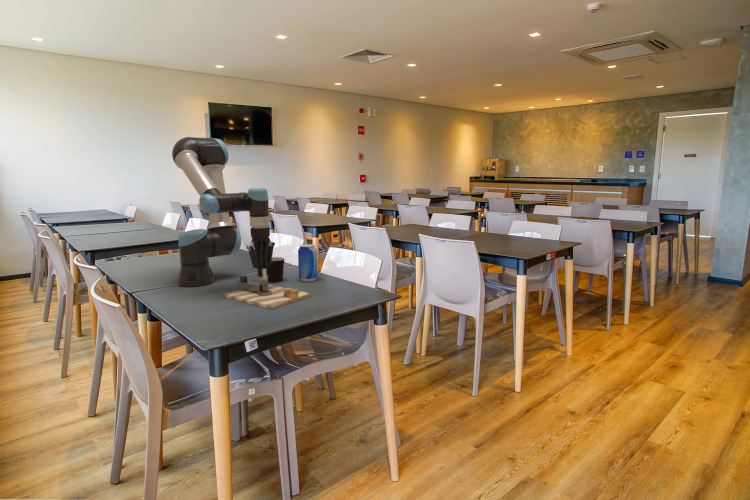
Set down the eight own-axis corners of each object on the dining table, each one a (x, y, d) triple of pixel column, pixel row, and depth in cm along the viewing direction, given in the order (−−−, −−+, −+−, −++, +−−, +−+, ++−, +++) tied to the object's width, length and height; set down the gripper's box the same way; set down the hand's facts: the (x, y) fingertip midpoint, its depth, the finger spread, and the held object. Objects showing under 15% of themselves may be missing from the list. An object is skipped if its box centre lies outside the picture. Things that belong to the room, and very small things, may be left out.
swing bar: (265, 290, 172) (265, 279, 171) (259, 291, 169) (259, 281, 169) (243, 285, 180) (242, 274, 179) (237, 286, 178) (236, 276, 177)
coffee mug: (280, 283, 192) (279, 261, 190) (262, 282, 193) (261, 260, 192) (290, 277, 203) (289, 256, 201) (273, 276, 205) (272, 255, 203)
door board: (224, 297, 171) (222, 279, 170) (263, 286, 187) (263, 270, 186) (271, 309, 155) (270, 290, 154) (311, 296, 171) (310, 279, 170)
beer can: (295, 281, 195) (294, 246, 193) (305, 277, 203) (304, 243, 200) (311, 282, 192) (310, 247, 189) (321, 278, 200) (320, 244, 197)
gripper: (252, 229, 167) (256, 288, 171) (278, 225, 177) (281, 282, 181) (240, 228, 171) (244, 286, 175) (266, 224, 181) (269, 279, 185)
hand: (263, 284), depth 178 cm, fingers closed
